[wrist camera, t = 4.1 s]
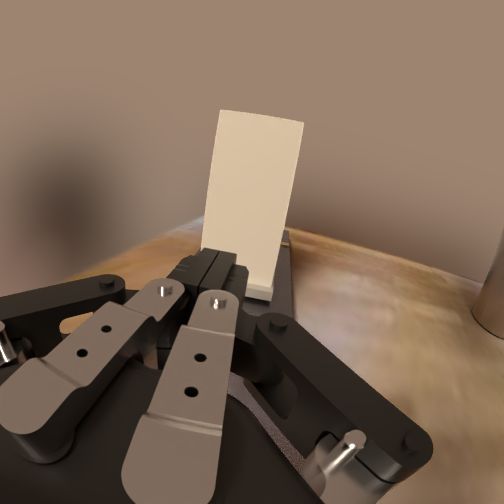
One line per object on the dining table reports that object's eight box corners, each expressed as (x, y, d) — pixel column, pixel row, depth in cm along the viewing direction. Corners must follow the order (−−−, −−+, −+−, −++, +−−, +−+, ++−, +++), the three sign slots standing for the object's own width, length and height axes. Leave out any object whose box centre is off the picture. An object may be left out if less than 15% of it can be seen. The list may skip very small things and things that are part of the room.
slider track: (286, 342, 21) (293, 320, 20) (163, 315, 21) (163, 292, 20) (285, 243, 43) (288, 229, 42) (223, 231, 43) (224, 217, 42)
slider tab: (270, 301, 22) (308, 122, 17) (192, 285, 22) (214, 107, 17) (273, 279, 25) (303, 127, 20) (205, 265, 26) (226, 114, 21)
